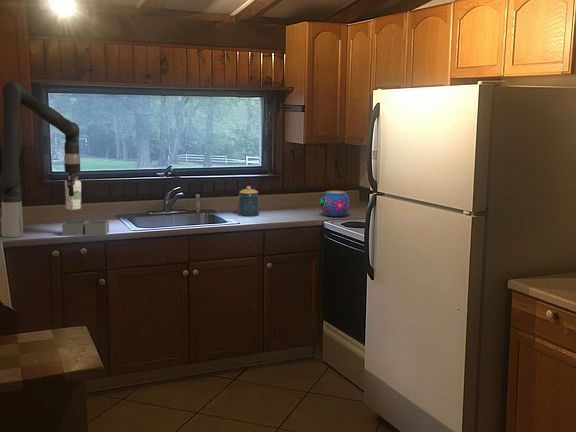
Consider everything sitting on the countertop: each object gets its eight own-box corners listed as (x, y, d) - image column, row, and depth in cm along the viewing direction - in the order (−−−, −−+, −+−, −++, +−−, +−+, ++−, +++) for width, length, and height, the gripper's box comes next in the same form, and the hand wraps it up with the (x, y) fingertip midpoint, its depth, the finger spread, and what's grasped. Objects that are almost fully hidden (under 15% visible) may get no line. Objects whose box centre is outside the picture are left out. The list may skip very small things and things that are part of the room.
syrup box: (75, 208, 332) (74, 179, 330) (81, 209, 328) (81, 180, 326) (65, 209, 328) (64, 180, 326) (71, 210, 324) (71, 181, 322)
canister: (233, 215, 395) (233, 186, 392) (248, 212, 405) (248, 184, 402) (248, 217, 387) (248, 187, 384) (263, 214, 396) (263, 186, 394)
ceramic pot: (322, 213, 404) (322, 189, 401) (350, 214, 401) (351, 190, 398) (318, 218, 386) (319, 193, 384) (348, 219, 384) (349, 193, 381)
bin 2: (85, 235, 326) (84, 223, 325) (89, 231, 336) (88, 220, 335) (105, 235, 327) (105, 223, 326) (109, 231, 337) (108, 220, 336)
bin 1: (62, 235, 325) (62, 223, 324) (67, 232, 335) (66, 220, 334) (83, 235, 326) (82, 223, 325) (87, 231, 336) (86, 220, 335)
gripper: (67, 161, 331) (69, 193, 334) (60, 163, 317) (62, 196, 320) (83, 161, 332) (84, 193, 334) (76, 163, 318) (77, 197, 320)
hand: (73, 195), depth 327 cm, fingers closed on syrup box, 8 cm apart
